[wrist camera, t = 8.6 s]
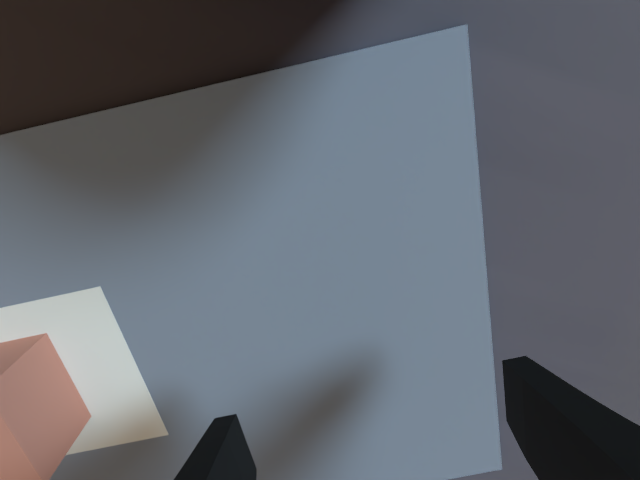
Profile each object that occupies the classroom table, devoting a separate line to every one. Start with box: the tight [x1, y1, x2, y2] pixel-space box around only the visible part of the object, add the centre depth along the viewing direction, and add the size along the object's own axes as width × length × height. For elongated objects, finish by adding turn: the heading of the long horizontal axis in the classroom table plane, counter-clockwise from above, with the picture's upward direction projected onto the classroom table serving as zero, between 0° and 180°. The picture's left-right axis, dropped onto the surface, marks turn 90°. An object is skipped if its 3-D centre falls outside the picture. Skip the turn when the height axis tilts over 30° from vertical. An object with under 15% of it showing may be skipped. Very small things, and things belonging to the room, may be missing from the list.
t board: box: [0, 24, 502, 480], centre depth 15 cm, size 18×30×1 cm, turn 102°
